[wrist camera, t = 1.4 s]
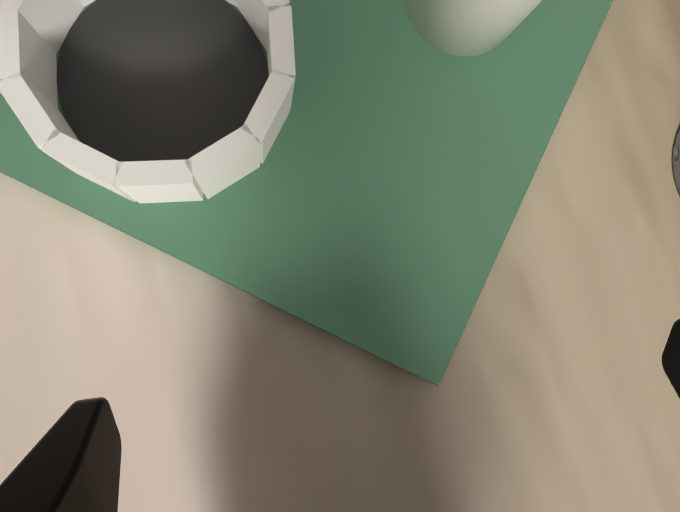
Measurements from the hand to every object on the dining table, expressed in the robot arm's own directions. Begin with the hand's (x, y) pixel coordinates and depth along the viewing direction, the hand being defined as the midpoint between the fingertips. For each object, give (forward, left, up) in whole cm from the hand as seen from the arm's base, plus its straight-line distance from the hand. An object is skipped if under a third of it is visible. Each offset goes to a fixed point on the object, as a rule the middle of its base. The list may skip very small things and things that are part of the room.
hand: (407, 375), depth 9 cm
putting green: (+5, -10, -14) cm, 18 cm away
